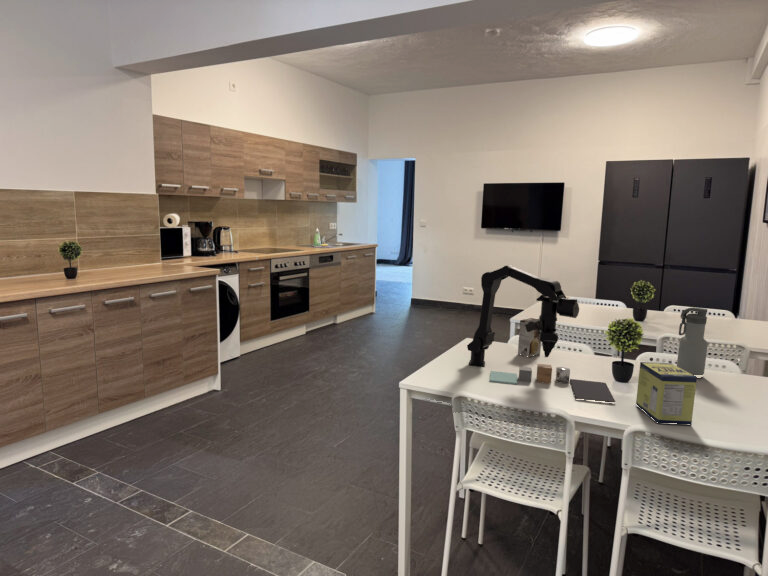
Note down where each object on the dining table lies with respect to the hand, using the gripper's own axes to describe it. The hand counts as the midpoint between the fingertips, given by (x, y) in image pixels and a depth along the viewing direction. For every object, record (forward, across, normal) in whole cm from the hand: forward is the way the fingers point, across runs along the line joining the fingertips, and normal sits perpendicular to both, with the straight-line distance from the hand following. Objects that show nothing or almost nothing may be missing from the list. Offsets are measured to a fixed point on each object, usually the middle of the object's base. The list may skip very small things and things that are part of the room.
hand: (545, 353), depth 192 cm
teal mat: (+11, +2, -15) cm, 18 cm away
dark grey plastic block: (+11, +1, -7) cm, 13 cm away
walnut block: (+11, 0, 0) cm, 11 cm away
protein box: (+11, +24, +35) cm, 44 cm away
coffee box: (+11, -38, -4) cm, 40 cm away
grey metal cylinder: (+11, -2, +7) cm, 13 cm away
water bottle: (+11, -28, +59) cm, 66 cm away
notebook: (+11, +8, +16) cm, 21 cm away
